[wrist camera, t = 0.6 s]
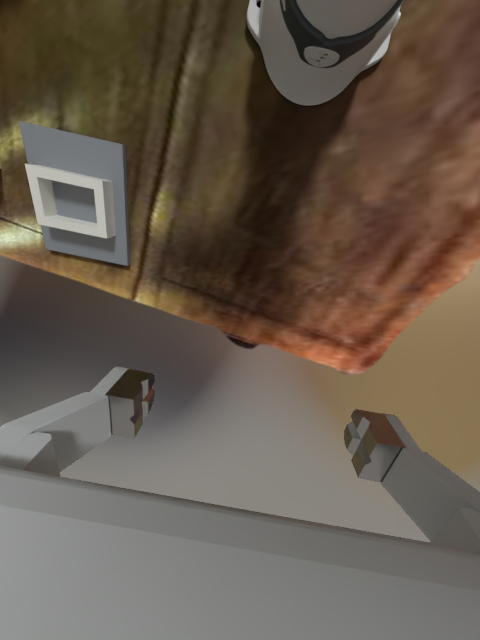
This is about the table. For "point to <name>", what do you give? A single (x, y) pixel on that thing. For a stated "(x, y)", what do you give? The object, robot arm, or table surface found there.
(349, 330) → the table surface
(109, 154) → the cradle
